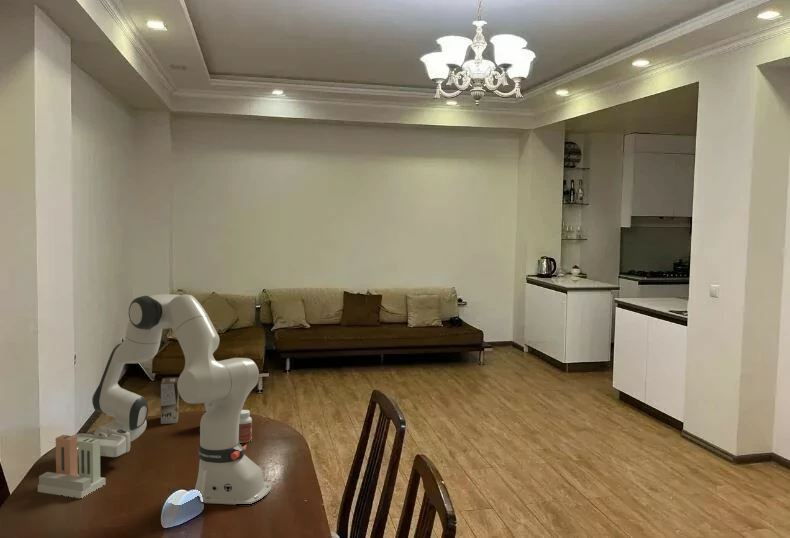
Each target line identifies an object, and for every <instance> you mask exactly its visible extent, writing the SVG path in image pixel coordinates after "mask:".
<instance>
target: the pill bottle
mask: <svg viewBox="0 0 790 538" xmlns="http://www.w3.org/2000/svg"><path fill="white" fill-rule="evenodd" d="M250 415H251V411H250V410H249V409H242V410H241V414H240V420H239V442H240V443H242V442H248V441H250V440H251V439H252V440H253V419H252V417H251V416H250ZM252 440H251V441H252Z"/></svg>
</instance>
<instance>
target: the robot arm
mask: <svg viewBox="0 0 790 538" xmlns="http://www.w3.org/2000/svg"><path fill="white" fill-rule="evenodd" d="M128 317H129V318H128V319H129V321H128V324H127V327H126V331H125V336H124V339H123V341H122V342H121V343H118V344H117V345H116V346H115V347H114V348H112V349H113V350H112V352H110V356H109V358H108V360H107V363H106V366H105V369H104V371H103V374H102V376H101V378H100V382H99V384H98V386H97V388H96V390H95V391H94V393H93V395H92V397H91V401H92V402H91V403H92V406H93V410H95V411H96V412H97V413H101V414H103V415H107V416H108V417H109V416H110V417H112V418H114V420H113V421H112V422H109V423H107V424H105V425H102V426H100V427H98V428H97V429H95V431H93V432H94V433H93V434H92V433H91V434H90V433H75V434H72V435H71V436H76V437H77V458H79V450H78V441H80V440H82V439H84V438H91V439H98V440H100V457H106V458H107V457H108V458H109V457H110V458H117V457H119V456H122V455H123V454H126V453H128V452H130V451H131V442H132V441H135V440H137V438H139V437H140V436H141V435H143V433H144V432H145V431H146V428H147V423H148V422H147V417H148V412H149V407H148V405H149V404H148V402H147V399H146V397H144V396H142V395H140V394H137V393H135V392H132V391H129V390H127V389H125V388H122V387H121V386H120V384H118V383H119V379H120V377H121V374H122V372H123V368H124V366H125V365H126V364H141V363H145V362H148V361H150V360H153V358H154V357H155V356H156V355H157V353H158V352H159V349H160V346H161V341H162V335H163V331H164V330H165V329H167V330H168V329H172V330H173V333H174V336H175V337H176V339H177V341H178V343H179V346H180V347H181V350H182V353H183V356H184V361H185V362H184V367H183V370H182V372H181V373H180V374H179V377H178V384H177V388H178V395H179V397H180V398H181V399H182V400H183V401H184V402H185V403H187V404H205V403H207V402H210V401H214V402H213V404H212V406H211V407H210V408H209V410H208V411H207V412H206V413H205V412H204V413H203V415H202V416H201V419H200V422H199V423H200V424H199V427H200V428H199V432H200V433H199V435H200V436H199V438H200V439H199V441H200V442H199V444H198V461H199V463H198V464H199V465H198V473H197V474H198V475H197V480H196V483H195V487H194V490H195V489H196V490H198V491H200V493H201V494H202V497H203V500H204V503H203V504H217V505H218V504H220V505H221V504H222V505H236V504H252V503H254V502H256V501H258V500H260V499H262V498H263V497H264V496H265V495H267V494H268V492H269V491H270V490H271V491H272V484H271V482H268V481H266V480H265V478H264V473H263V470H262V467H260V466H259V465H257V464H256V463H255V462H254V461H253V460H251V459H250V458H249V457H248V456H247V455H246V454H245V452H244V451H245V450H246V449H247V444H244V446H242V444H240V442H239V420H240V414H241V410H243V407H244V405H245V401H246V400H247V397H248V396H249V394H250V393H251V392H252V391H253V390H254V388H255V387H256V386H257V385H258V382H259V379H260V378H259V377H260V372H259V368H258V367H259V366H257V364H256V362H255V361H254V360H252V359H251V358H247V357H231V358H228V359H222V360H216V359H215V357H214V353H215V352H216V351H217V349H218V348H219V346H220V336H219V334H218V331H217V330H216V328H215V326H214V324H213V323H212V321H211V319H210V317H209V315H208V313H207V311H206V310H205V309H204V307H203V306H202V305H201V303H200V302H199V301H198V300H197V298H196V297H194V296H193V295H191V294H186V293H185V294H184V293H180V294H174V293H173V294H172V293H158V294H152V295H142V296H138V297H136V298H134V299H132V301H131V303H130V305H129V306H128ZM267 487H268V488H267ZM271 491H270V492H271ZM268 495H269V494H268ZM268 495H267V496H268ZM262 500H263V499H262ZM252 505H253V504H252Z"/></svg>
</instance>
